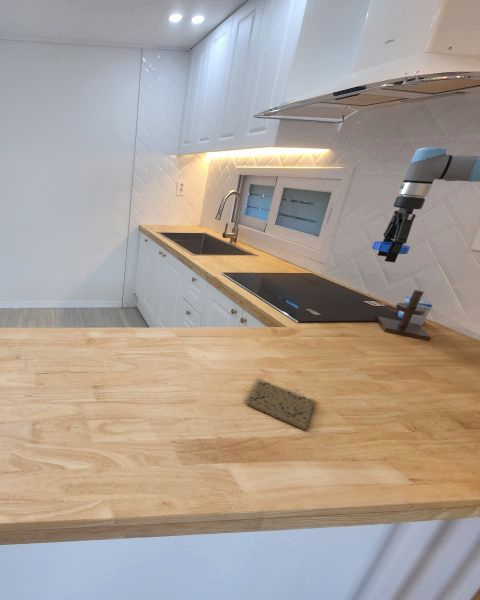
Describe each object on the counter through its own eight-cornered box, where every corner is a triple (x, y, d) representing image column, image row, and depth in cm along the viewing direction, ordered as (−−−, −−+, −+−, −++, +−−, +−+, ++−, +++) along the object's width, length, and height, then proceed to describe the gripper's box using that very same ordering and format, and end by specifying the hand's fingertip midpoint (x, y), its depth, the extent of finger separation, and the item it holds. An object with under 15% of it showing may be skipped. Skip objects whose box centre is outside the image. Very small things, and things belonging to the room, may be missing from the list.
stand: (416, 328, 124) (435, 290, 118) (428, 341, 114) (449, 300, 108) (376, 319, 129) (392, 282, 123) (384, 331, 119) (401, 292, 113)
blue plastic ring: (402, 250, 126) (404, 244, 125) (411, 255, 117) (414, 248, 116) (369, 246, 130) (371, 240, 129) (375, 250, 122) (377, 244, 121)
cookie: (245, 404, 77) (246, 401, 76) (259, 381, 85) (260, 378, 85) (306, 431, 70) (307, 427, 69) (314, 403, 78) (315, 400, 78)
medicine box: (396, 315, 134) (405, 295, 131) (409, 317, 133) (419, 297, 130) (408, 324, 127) (418, 303, 123) (422, 326, 126) (433, 304, 122)
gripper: (388, 194, 127) (366, 251, 136) (408, 197, 109) (380, 263, 117) (414, 196, 124) (390, 254, 132) (438, 199, 105) (408, 267, 114)
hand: (385, 258), depth 125 cm, fingers closed on blue plastic ring, 10 cm apart
